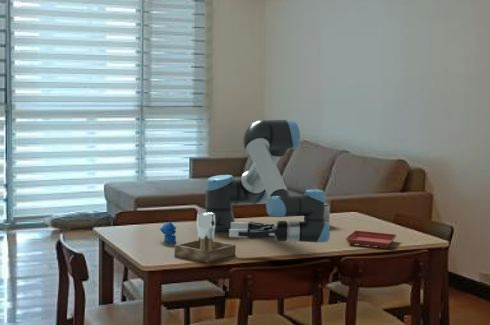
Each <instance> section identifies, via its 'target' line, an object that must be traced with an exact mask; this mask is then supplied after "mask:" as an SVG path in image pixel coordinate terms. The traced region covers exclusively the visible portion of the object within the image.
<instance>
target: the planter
mask: <svg viewBox="0 0 490 325" xmlns="http://www.w3.org/2000/svg"><path fill="white" fill-rule="evenodd" d="M330 206H331V205H330V204H328V203H325V212H324V220H325V222H328V223H329V224H330V214H331V213H330V212H331V211H330V210H331V208H330Z"/></svg>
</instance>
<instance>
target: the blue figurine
mask: <svg viewBox="0 0 490 325" xmlns="http://www.w3.org/2000/svg"><path fill="white" fill-rule="evenodd" d="M176 229H177V227H176V226H175V224H173V222H172V221H169V222H166V223H165V224H163V225H162V226H161V227H160V228H159V230H160V231H161V233H162V234H163V235H164V236H163V237H164V242H167V243H169V244H173V243H174V242H175V243H176V241H177V240H176V235H175V234H177V231H176ZM175 243H174V244H175Z"/></svg>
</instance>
